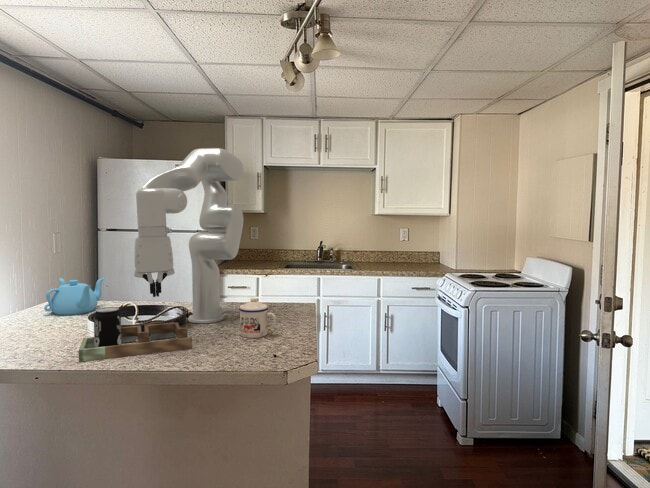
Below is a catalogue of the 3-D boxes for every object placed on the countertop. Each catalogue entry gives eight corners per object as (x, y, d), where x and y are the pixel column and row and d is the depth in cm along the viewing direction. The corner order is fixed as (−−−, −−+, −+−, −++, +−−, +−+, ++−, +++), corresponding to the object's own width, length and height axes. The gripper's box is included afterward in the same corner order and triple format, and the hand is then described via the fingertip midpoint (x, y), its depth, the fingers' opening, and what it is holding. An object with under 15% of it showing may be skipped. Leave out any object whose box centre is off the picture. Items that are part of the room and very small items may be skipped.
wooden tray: (184, 330, 138) (184, 321, 138) (192, 348, 120) (191, 338, 120) (86, 340, 126) (86, 330, 126) (79, 361, 108) (78, 350, 108)
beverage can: (115, 355, 113) (114, 311, 112) (90, 355, 112) (89, 311, 112) (125, 348, 119) (124, 306, 119) (101, 348, 119) (100, 306, 118)
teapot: (106, 305, 174) (105, 276, 174) (91, 316, 156) (90, 283, 155) (60, 306, 171) (59, 277, 170) (39, 318, 153) (38, 284, 152)
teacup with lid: (234, 337, 131) (234, 300, 130) (245, 329, 140) (245, 295, 139) (271, 340, 128) (271, 302, 128) (280, 332, 137) (280, 296, 136)
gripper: (179, 230, 126) (181, 290, 128) (123, 232, 119) (127, 295, 122) (181, 232, 119) (184, 296, 121) (123, 235, 113) (127, 301, 115)
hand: (155, 295), depth 121 cm, fingers closed
